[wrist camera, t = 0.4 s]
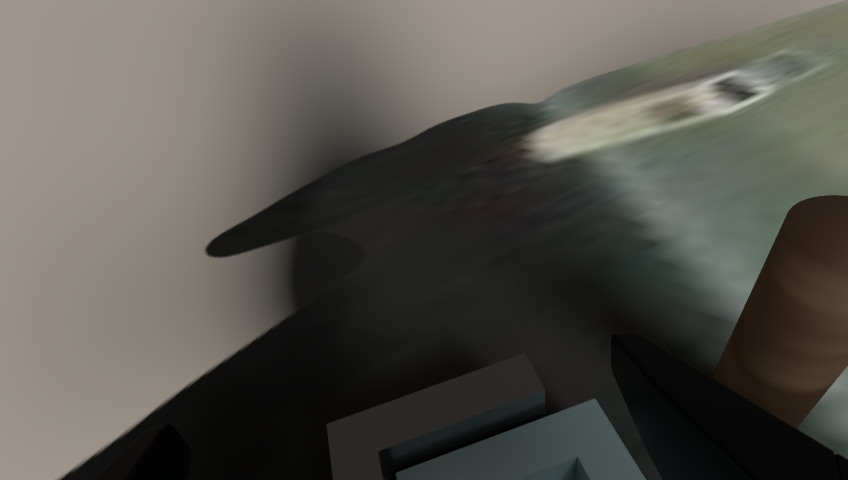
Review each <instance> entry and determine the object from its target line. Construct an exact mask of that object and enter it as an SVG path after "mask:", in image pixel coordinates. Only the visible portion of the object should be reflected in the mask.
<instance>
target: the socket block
mask: <svg viewBox="0 0 848 480" xmlns="http://www.w3.org/2000/svg"><path fill="white" fill-rule="evenodd" d="M396 477H397V480H646V479H645V477H644V476H643V474H642V473H641V471H640V470H639V468H638V466H637V465H636V463H635V462H634V460H633V458H632V457H631V455H630V454H629V452H628V450H627V449H626V447H625V446H624V444H623V442H622V441H621V439H620V438H619V436H618V434H617V433H616V431H615V430H614V428H613V426H612V425H611V423H610V422H609V420H608V418H607V417H606V415H605V414H604V412H603V410H602V409H601V407H600V406H599V404H598V402H597V401H596V399H592V400H590V401H587V402H584V403H582V404H579V405H576V406H573V407H571V408H568V409H565V410H563V411H560V412H557V413H555V414H552V415H549V416H547V417H544V418H541V419H539V420H536V421H533V422H531V423H528V424H525V425H523V426H520V427H517V428H514V429H512V430H509V431H506V432H504V433H501V434H498V435H496V436H493V437H490V438H488V439H485V440H482V441H480V442H477V443H474V444H472V445H469V446H466V447H464V448H461V449H458V450H456V451H453V452H450V453H447V454H445V455H442V456H439V457H437V458H434V459H431V460H429V461H426V462H423V463H421V464H418V465H415V466H413V467H410V468H407V469H405V470H402V471H399V472H397V473H396Z"/></svg>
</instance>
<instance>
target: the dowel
mask: <svg viewBox="0 0 848 480" xmlns="http://www.w3.org/2000/svg"><path fill="white" fill-rule="evenodd" d="M847 366H848V196H839V195H830V196H818V197H813V198H809V199H806V200H803V201H801V202H799V203H797V204H795V205H794V206H793V207H792V208H791V209H790V210H789V211H788V213H787V216H786V218H785V220H784V222H783V224H782V226H781V229H780V231H779V233H778V235H777V237H776V239H775V242H774V244H773V246H772V248H771V250H770V252H769V255H768V257H767V259H766V261H765V263H764V265H763V268H762V270H761V272H760V274H759V276H758V278H757V281H756V283H755V285H754V287H753V289H752V291H751V294H750V296H749V298H748V300H747V302H746V304H745V307H744V309H743V311H742V313H741V315H740V317H739V320H738V322H737V324H736V326H735V328H734V330H733V333H732V335H731V337H730V339H729V341H728V343H727V346H726V348H725V350H724V352H723V354H722V356H721V359H720V361H719V363H718V365H717V367H716V369H715V372H714V374H713V376H712V378H714V379H715V380H717V381H719V382H720V383H722V384H724V385H725V386H727V387H729V388H730V389H732V390H733V391H735V392H737V393H738V394H740V395H742V396H743V397H745V398H747V399H748V400H750V401H752V402H753V403H755V404H757V405H758V406H760V407H762V408H763V409H765V410H766V411H768V412H770V413H771V414H773V415H775V416H776V417H778V418H780V419H781V420H783V421H785V422H786V423H788V424H790V425H791V426H793V427H795V428H797V427H798V426H799V425H800V423H801V422H802V421H803V420H804V418H805V417H806V416H807V415H808V414H809V412H810V411H811V410H812V409H813V407H814V406H815V405H816V404H817V403H818V401H819V400H820V399H821V398H822V396H823V395H824V394H825V393H826V392H827V390H828V389H829V388H830V387H831V385H832V384H833V383H834V382H835V380H836V379H837V378H838V377H839V376H840V374H841V373H842V372H843V371H844V369H845V368H846V367H847Z"/></svg>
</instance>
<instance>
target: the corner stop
mask: <svg viewBox="0 0 848 480" xmlns="http://www.w3.org/2000/svg"><path fill="white" fill-rule="evenodd" d="M544 417H546V413H545V388H544V386H543V384H542V383H541V381H540V379H539V377H538V375H537V373H536V372H535V370H534V368H533V366H532V364H531V362H530V361H529V359H528V357H527V355H526V353H523V354H520V355H518V356H515V357H512V358H509V359H507V360H504V361H501V362H498V363H495V364H493V365H490V366H487V367H484V368H481V369H479V370H476V371H473V372H470V373H468V374H465V375H462V376H459V377H456V378H454V379H451V380H448V381H445V382H442V383H440V384H437V385H434V386H431V387H429V388H426V389H423V390H420V391H417V392H415V393H412V394H409V395H406V396H403V397H401V398H398V399H395V400H392V401H389V402H387V403H384V404H381V405H378V406H376V407H373V408H370V409H367V410H364V411H362V412H359V413H356V414H353V415H350V416H348V417H345V418H342V419H339V420H337V421H334V422H331V423H328V424H327V432H328V441H329V450H330V458H331V467H332V476H333V480H397V477H396V473H397V472H399V471H402V470H405V469H407V468H410V467H413V466H415V465H418V464H421V463H423V462H426V461H429V460H431V459H434V458H437V457H439V456H442V455H445V454H447V453H450V452H453V451H456V450H458V449H461V448H464V447H466V446H469V445H472V444H474V443H477V442H480V441H482V440H485V439H488V438H490V437H493V436H496V435H498V434H501V433H504V432H506V431H509V430H512V429H514V428H517V427H520V426H523V425H525V424H528V423H531V422H533V421H536V420H539V419H541V418H544Z"/></svg>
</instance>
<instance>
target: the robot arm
mask: <svg viewBox="0 0 848 480" xmlns="http://www.w3.org/2000/svg"><path fill="white" fill-rule="evenodd" d="M611 367H612V371H613V374H614V377H615V379H616V382H617V384H618V386H619V389H620V391H621V393H622V396H623V398H624V400H625V403H626V405H627V407H628V409H629V412H630V414H631V416H632V419H633V421H634V423H635V426H636V428H637V430H638V433H639V435H640V437H641V439H642V442H643V444H644V446H645V448H646V450H647V452H648V454H649V456H650V458H651V460H652V461H653V463H654V465H655V467H656V469H657V470H658V472H659V474H660V476H661V477H662V479H663V480H848V459H846V458H844V457H843V456H841V455H839V454H836V455H834V452H833V451H832V450H831V449H829V448H828V447H826V446H824V445H823V444H821V443H819V442H818V441H816V440H814V439H813V438H811V437H809V436H808V435H806V434H804V433H803V432H801V431H800V430H798V429H796V428H795V427H793V426H791V425H790V424H788V423H786V422H785V421H783V420H781V419H780V418H778V417H776V416H775V415H773V414H771V413H770V412H768V411H766V410H765V409H763V408H762V407H760V406H758V405H757V404H755V403H753V402H752V401H750V400H748V399H747V398H745V397H743V396H742V395H740V394H738V393H737V392H735V391H733V390H732V389H730V388H729V387H727V386H725V385H724V384H722V383H720V382H719V381H717V380H715V379H714V378H712V377H710V376H709V375H707V374H705V373H704V372H702V371H700V370H699V369H697V368H695V367H694V366H692V365H691V364H689V363H687V362H686V361H684V360H682V359H681V358H679V357H677V356H676V355H674V354H672V353H671V352H669V351H667V350H666V349H664V348H662V347H661V346H659V345H658V344H656V343H654V342H653V341H651V340H649V339H648V338H646V337H644V336H643V335H641V334H639V333H638V332H635V331H626V332H621V333H616V334H614V335H613V336H612V339H611ZM190 463H191V451H190V448H189V446H188V445H187V443H186V442H185V441H184V439H183V438H182V437H181V435H180V434H179V433H178V431H177V430H176V429H175V427H174V426H172V425H170V424H164V425H159V426H154V427H151V428H148V429H147V430H146V431H144V432H143V433H142V434H141V435H140V436H139V437H138V438H137V439H136V440H135V441H134V442H133V443H132V444H131V445H130V446H129V447H128V448H127V449H125V450H124V451H123V452H122V453H121V454H120V455H119V456H118V457H117V458H116V459H115V460H114V461H113V462H112V463H111V464H110V465H109V466H108V467H106V468H105V469H104V470H103V471H102V472H101V473H100V474H99V475H98V476H97V477H96V478H95V479H94V480H187V478H188V473H189V468H190Z"/></svg>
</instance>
